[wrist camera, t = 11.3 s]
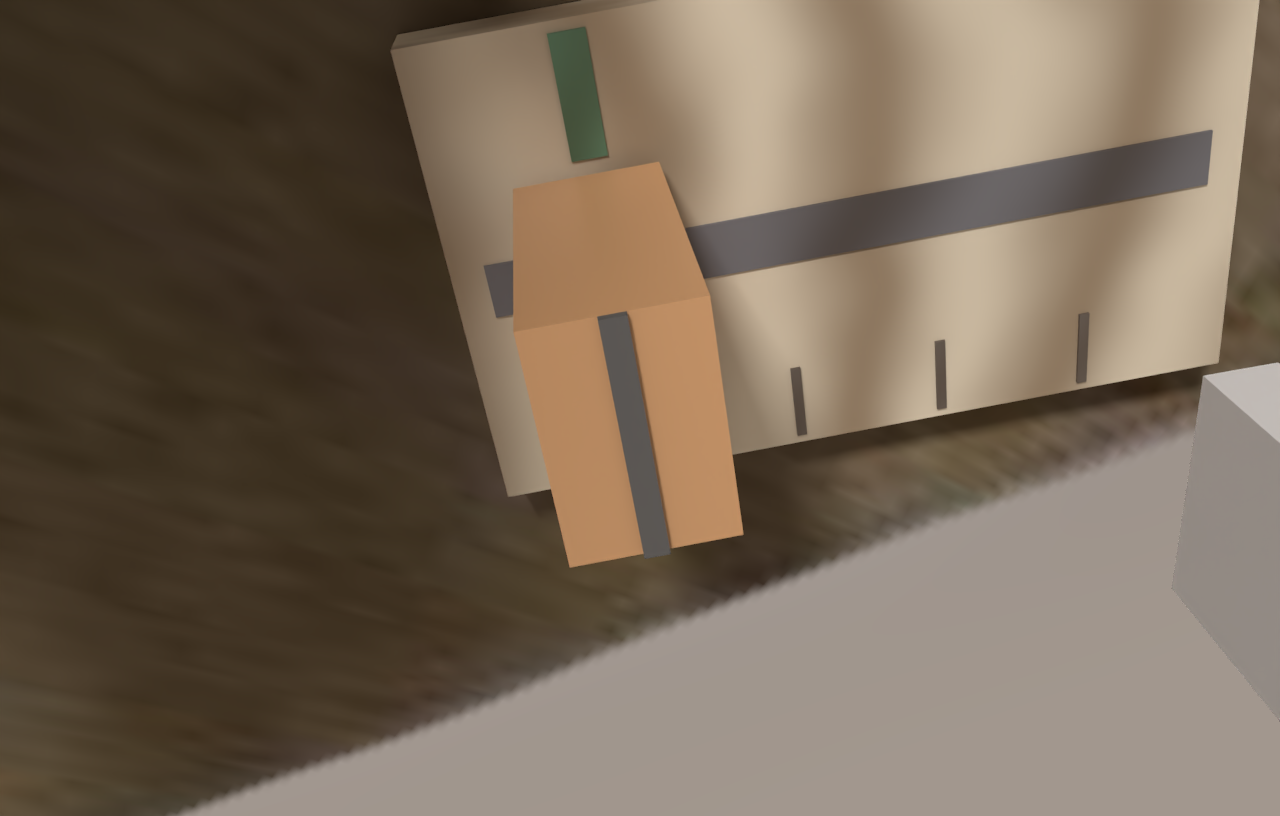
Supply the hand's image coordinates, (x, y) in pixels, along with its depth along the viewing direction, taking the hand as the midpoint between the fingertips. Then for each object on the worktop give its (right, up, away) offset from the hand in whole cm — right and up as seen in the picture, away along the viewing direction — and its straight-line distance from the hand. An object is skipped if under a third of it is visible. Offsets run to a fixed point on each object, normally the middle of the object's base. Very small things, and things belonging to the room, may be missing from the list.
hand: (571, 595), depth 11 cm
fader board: (+6, +8, +23) cm, 25 cm away
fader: (0, +6, +20) cm, 21 cm away
